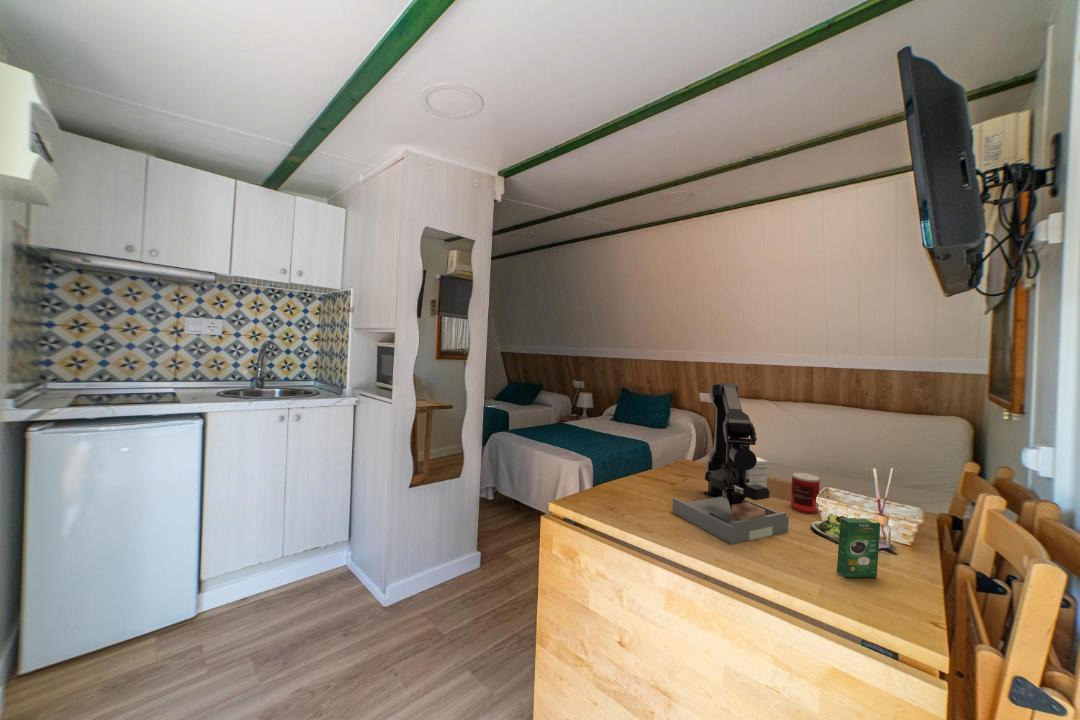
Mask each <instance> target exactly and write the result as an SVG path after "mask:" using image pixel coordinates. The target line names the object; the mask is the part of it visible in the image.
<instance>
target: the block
mask: <svg viewBox="0 0 1080 720" xmlns="http://www.w3.org/2000/svg"><path fill="white" fill-rule="evenodd" d="M760 516H765V510H764V509H762V508H759V507H757V506H755V505H752V504H750V503H741V504H735V505H732V516H731V520H732V521H739V520H745V519H750V518H755V517H760Z"/></svg>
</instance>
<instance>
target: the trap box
mask: <svg viewBox="0 0 1080 720" xmlns="http://www.w3.org/2000/svg"><path fill="white" fill-rule="evenodd" d="M742 503H750V504H752V505H755V506H757V507H759V508H762V509H764V510H765V516H760V517H755V518H750V519H745V520H739V521H732V520H731V516H732V511H731V508H730V505H729V501H728V498H727V496H726V493H725V492H724V491H722V497H711V498H705V499H698V500H693V501H687V502H686V501H683V500H681V499H679V498H677V497H673V498H672V511H671V513H673V514H675V515H676V516H679V517H680V518H682V519H684V520H685V521H688V522H689V523H691V524H693V525H695V526H697V527H699V528H701V529H702V530H704V531H706V532H708V533H710V534H712V535H714V536H716V537H718V538H719V539H720V540H723V541H724V542H727V543H729V544H730V545H734V544H739V543H742V542H748V541H752V540H757V539H761V538H767V537H771V536H775V535H779V534H784V533H788V532H789V519H790V517H789V515H787V513H786V512H785V511H781V512H779V511H777V510H775V509H772V508H770V507H766V506H765V505H763V504H760V503H757V502H754V501H752V500H751V499H748V498H745V499H744V501H743V502H742Z"/></svg>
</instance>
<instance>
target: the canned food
mask: <svg viewBox="0 0 1080 720" xmlns="http://www.w3.org/2000/svg"><path fill="white" fill-rule="evenodd" d="M820 484H821V483H820V477H819V476H817V475H814V474H810V473H806V472H805V473H804V472H793V473H792V476H791V491H790V493H791V498H790V505H791V508H792V509H794V511H797V512H800V513H803V512H804V514H809V513H814V514H817V513H818V511H819V506H818V507H817V504H816V497H817V495H818V494H819V495H820Z"/></svg>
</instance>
